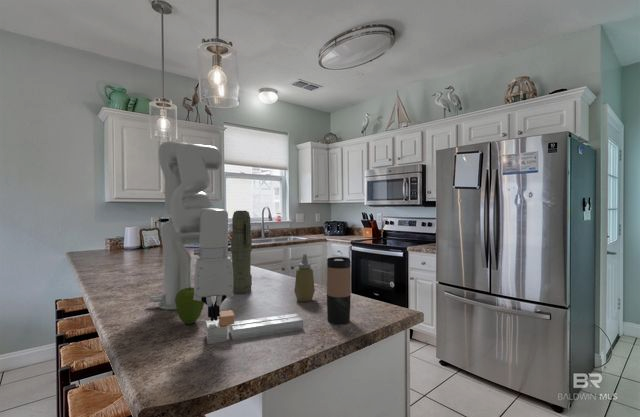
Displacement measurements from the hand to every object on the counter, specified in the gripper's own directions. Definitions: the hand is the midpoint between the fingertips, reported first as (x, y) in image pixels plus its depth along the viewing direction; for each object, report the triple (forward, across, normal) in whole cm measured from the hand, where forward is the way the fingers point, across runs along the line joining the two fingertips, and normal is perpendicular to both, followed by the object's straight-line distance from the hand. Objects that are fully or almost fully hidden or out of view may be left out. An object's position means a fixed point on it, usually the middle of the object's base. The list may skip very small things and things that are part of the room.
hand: (213, 319), depth 88 cm
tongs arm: (+5, +15, +2) cm, 16 cm away
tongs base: (+5, +12, 0) cm, 13 cm away
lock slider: (+1, +3, 0) cm, 4 cm away
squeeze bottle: (+6, +36, +25) cm, 44 cm away
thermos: (+6, +15, +47) cm, 50 cm away
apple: (+6, -6, +15) cm, 17 cm away
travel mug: (+6, +38, -1) cm, 39 cm away
